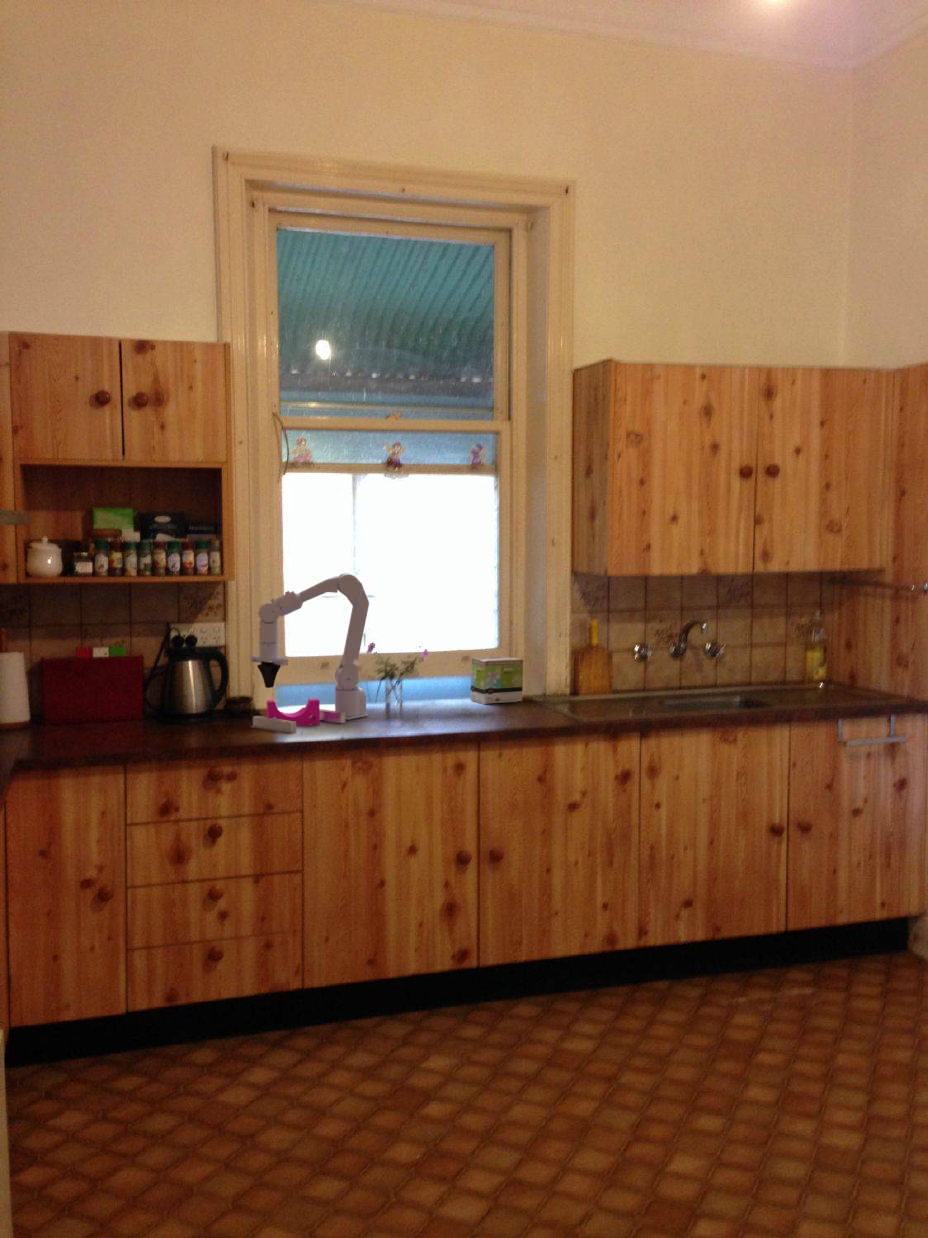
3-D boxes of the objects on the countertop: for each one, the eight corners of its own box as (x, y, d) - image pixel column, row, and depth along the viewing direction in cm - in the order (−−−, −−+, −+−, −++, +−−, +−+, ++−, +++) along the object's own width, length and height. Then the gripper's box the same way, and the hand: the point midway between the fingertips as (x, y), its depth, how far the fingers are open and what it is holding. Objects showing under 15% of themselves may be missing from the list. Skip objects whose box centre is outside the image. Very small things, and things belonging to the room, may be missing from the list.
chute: (309, 716, 335) (309, 706, 335) (347, 722, 325) (347, 712, 325) (250, 727, 317) (250, 717, 316) (288, 733, 307) (288, 723, 307)
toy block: (316, 721, 327) (315, 697, 327) (319, 725, 321) (319, 700, 321) (265, 724, 323) (265, 699, 322) (268, 727, 317) (268, 702, 316)
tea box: (484, 705, 359) (485, 660, 358) (470, 700, 368) (470, 657, 367) (523, 701, 366) (523, 658, 365) (508, 697, 375) (508, 655, 374)
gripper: (242, 642, 328) (243, 686, 329) (275, 645, 319) (275, 691, 321) (260, 640, 334) (260, 684, 335) (293, 643, 325) (293, 688, 326)
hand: (269, 687), depth 328 cm, fingers closed
